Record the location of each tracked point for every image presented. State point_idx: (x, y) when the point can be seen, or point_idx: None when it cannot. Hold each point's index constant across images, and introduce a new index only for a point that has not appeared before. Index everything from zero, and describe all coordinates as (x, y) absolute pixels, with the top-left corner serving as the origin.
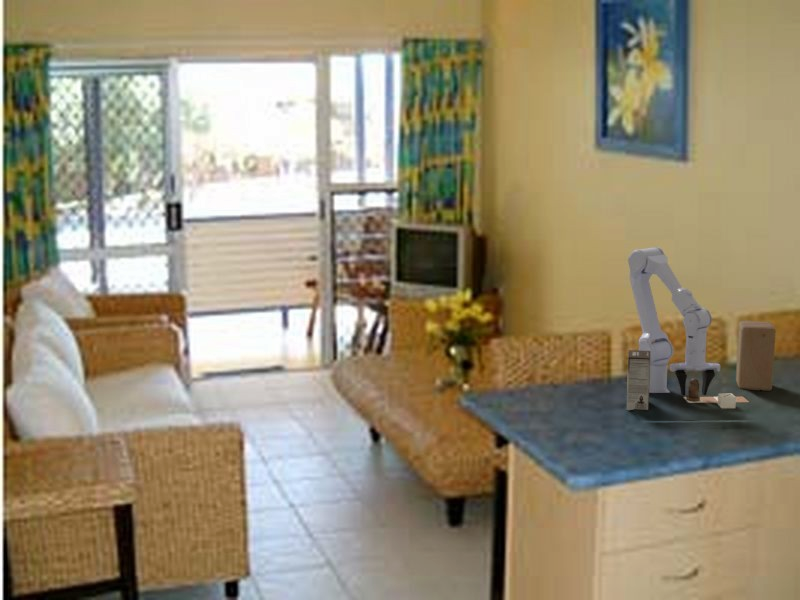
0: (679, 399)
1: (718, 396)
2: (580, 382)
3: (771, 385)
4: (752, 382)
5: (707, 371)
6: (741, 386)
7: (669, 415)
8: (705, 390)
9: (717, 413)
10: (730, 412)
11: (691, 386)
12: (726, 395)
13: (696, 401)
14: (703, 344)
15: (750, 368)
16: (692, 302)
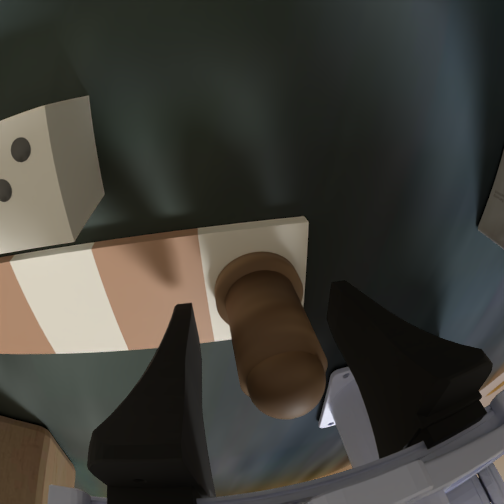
0: (319, 308)
1: (78, 217)
2: (484, 382)
3: None
4: (2, 439)
5: (178, 491)
6: (37, 433)
7: (458, 7)
8: (182, 324)
9: (138, 6)
10: (40, 54)
11: (311, 336)
12: (6, 182)
13: (245, 252)
14: None
15: (2, 486)
16: None
